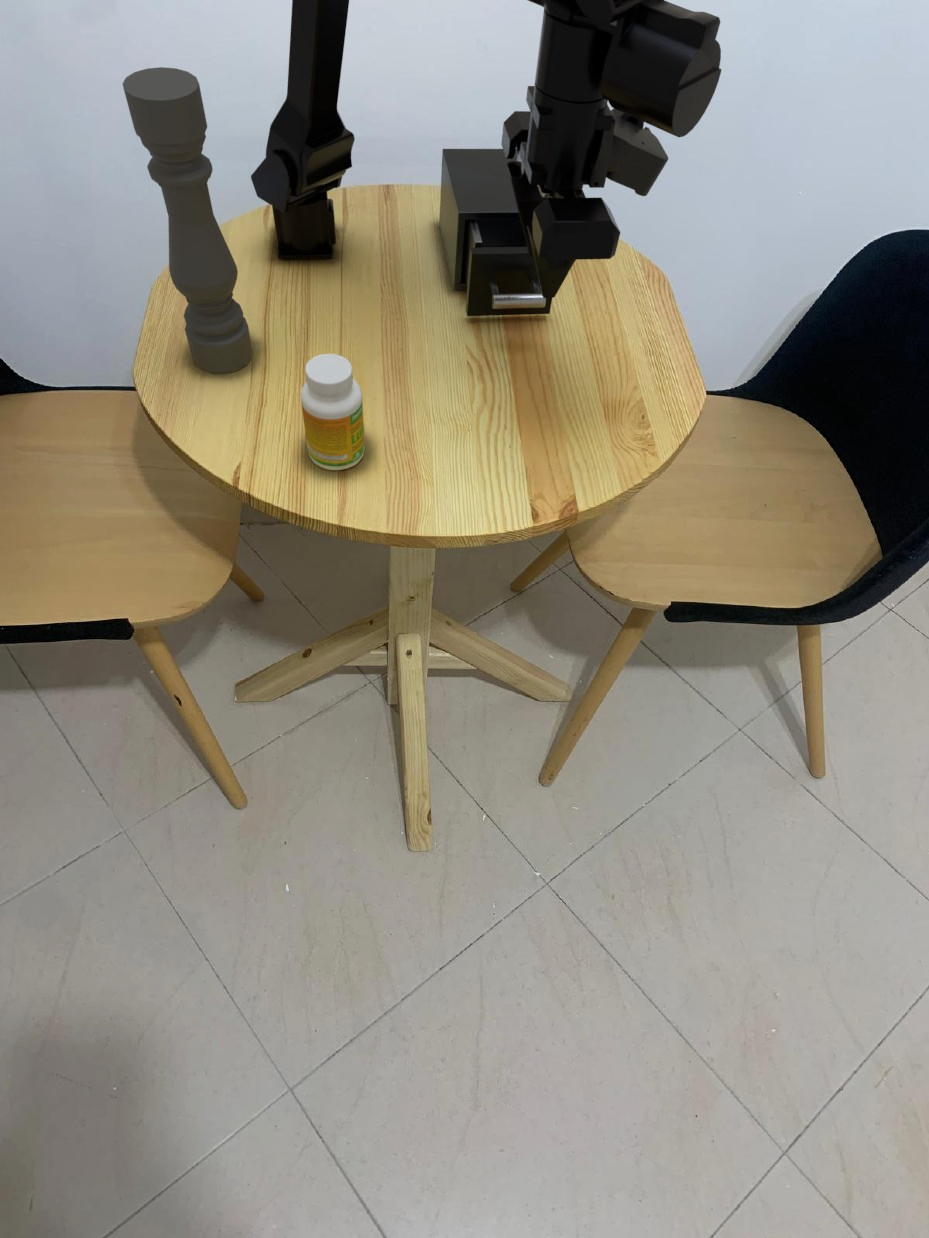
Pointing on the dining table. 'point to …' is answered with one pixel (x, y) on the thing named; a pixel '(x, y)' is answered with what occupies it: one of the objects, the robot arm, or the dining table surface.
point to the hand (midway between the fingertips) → (541, 276)
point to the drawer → (500, 270)
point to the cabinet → (472, 198)
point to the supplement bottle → (332, 413)
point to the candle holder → (190, 214)
